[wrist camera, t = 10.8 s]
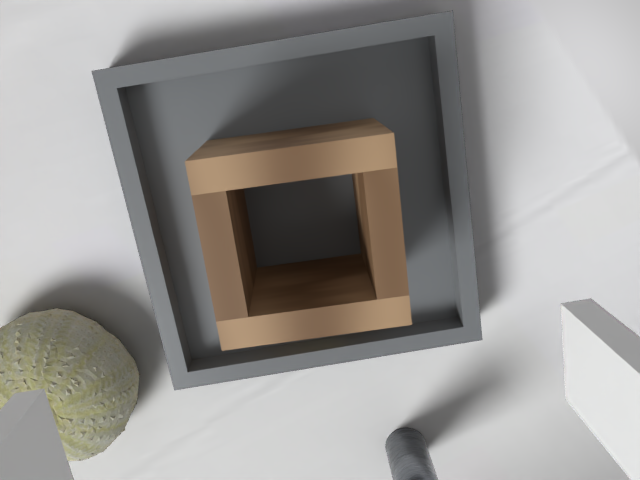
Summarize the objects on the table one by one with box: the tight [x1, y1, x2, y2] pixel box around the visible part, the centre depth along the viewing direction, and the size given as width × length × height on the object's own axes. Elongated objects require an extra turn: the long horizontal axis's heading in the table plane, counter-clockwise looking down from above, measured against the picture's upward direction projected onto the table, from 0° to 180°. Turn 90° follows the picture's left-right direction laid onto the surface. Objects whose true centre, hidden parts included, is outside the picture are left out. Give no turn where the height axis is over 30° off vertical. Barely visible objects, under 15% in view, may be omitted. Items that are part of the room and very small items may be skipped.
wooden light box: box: [185, 118, 412, 351], centre depth 31 cm, size 9×11×7 cm
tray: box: [92, 11, 482, 390], centre depth 34 cm, size 18×18×2 cm
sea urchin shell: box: [0, 308, 140, 461], centre depth 35 cm, size 9×8×8 cm
